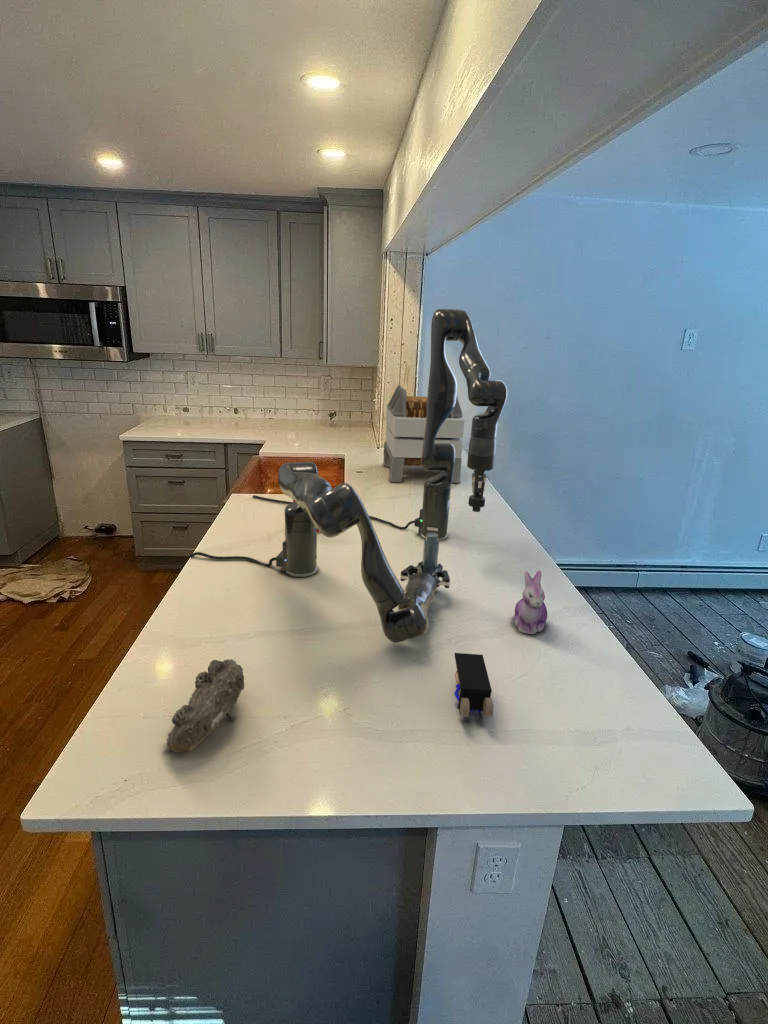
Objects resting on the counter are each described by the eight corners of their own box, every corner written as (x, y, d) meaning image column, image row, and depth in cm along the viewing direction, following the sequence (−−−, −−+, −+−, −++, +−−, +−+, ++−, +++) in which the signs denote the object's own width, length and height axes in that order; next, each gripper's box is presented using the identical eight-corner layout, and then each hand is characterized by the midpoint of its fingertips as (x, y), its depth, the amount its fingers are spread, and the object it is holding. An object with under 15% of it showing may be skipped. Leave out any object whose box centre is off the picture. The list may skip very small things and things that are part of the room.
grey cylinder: (419, 587, 162) (423, 531, 157) (434, 587, 163) (438, 531, 157) (421, 593, 158) (425, 537, 153) (435, 594, 159) (440, 537, 153)
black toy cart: (492, 733, 109) (479, 678, 122) (498, 704, 105) (484, 650, 119) (458, 733, 109) (448, 677, 122) (462, 703, 105) (452, 650, 119)
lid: (487, 507, 165) (488, 499, 164) (472, 508, 163) (473, 500, 163) (479, 502, 169) (480, 494, 168) (465, 503, 168) (466, 495, 167)
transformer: (382, 463, 289) (386, 382, 275) (445, 464, 293) (451, 384, 279) (390, 482, 257) (394, 392, 243) (460, 483, 261) (468, 394, 247)
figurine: (529, 639, 138) (537, 584, 133) (502, 619, 147) (509, 567, 142) (558, 631, 142) (567, 577, 137) (530, 612, 151) (538, 561, 146)
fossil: (192, 660, 117) (244, 628, 112) (224, 691, 120) (276, 661, 115) (142, 746, 98) (202, 712, 93) (182, 779, 101) (242, 748, 96)
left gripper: (448, 583, 142) (457, 556, 158) (393, 574, 145) (407, 549, 161) (445, 609, 145) (455, 580, 161) (391, 600, 148) (405, 573, 164)
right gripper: (467, 445, 168) (462, 500, 174) (468, 456, 155) (463, 515, 160) (493, 447, 167) (487, 502, 173) (496, 458, 154) (490, 517, 160)
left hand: (431, 565), depth 161 cm, fingers closed on grey cylinder, 4 cm apart
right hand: (475, 508), depth 167 cm, fingers closed on lid, 4 cm apart
